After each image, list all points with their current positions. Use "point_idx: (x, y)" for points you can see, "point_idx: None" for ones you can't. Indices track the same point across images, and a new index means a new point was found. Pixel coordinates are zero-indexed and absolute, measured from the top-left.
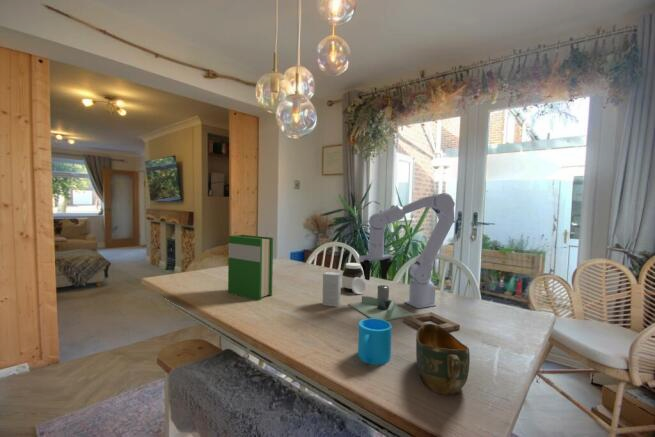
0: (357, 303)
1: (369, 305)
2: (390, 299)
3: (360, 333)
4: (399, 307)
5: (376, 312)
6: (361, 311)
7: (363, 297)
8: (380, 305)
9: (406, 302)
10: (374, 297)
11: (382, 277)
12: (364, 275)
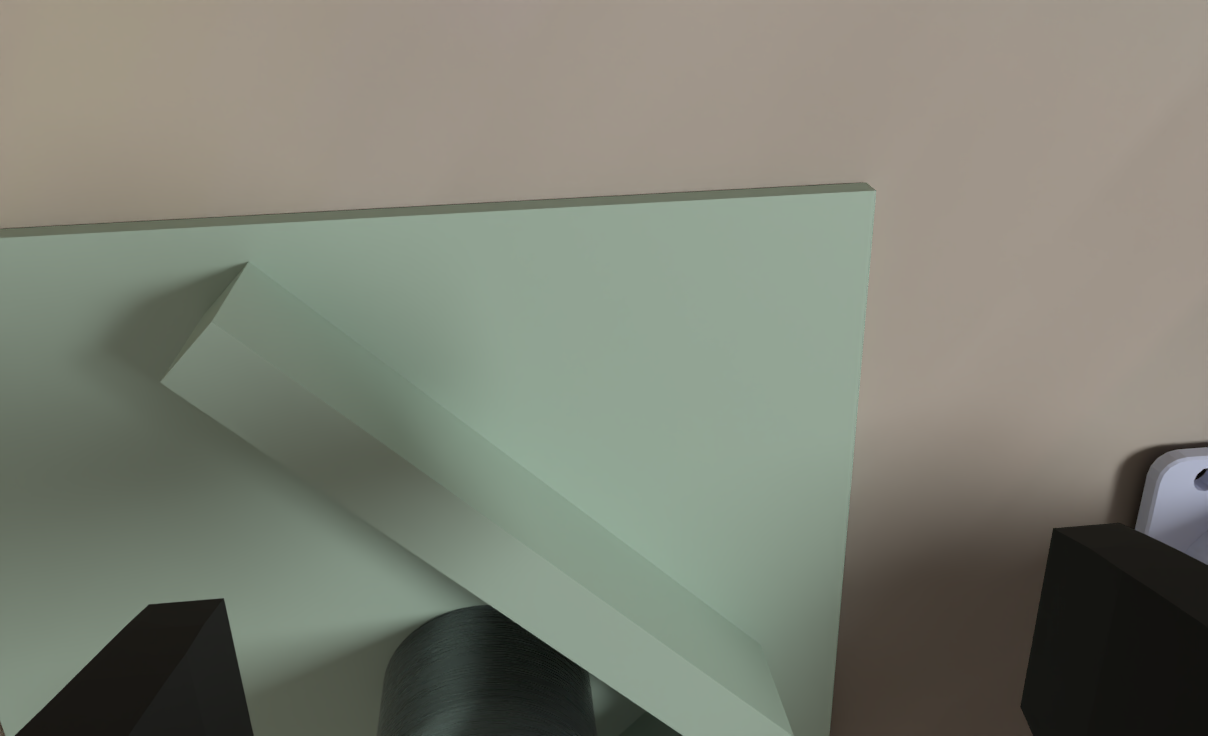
0: (79, 320)
1: (309, 503)
2: (733, 712)
3: None
4: (810, 713)
5: None
6: (4, 731)
7: (203, 397)
8: None
9: (1142, 532)
10: (462, 525)
11: (1053, 610)
12: (44, 716)
